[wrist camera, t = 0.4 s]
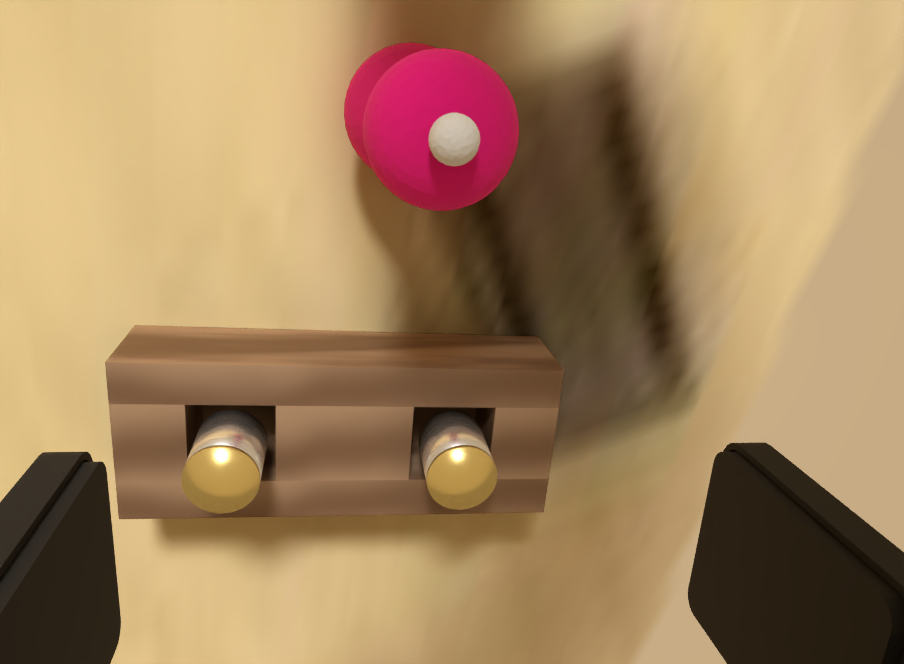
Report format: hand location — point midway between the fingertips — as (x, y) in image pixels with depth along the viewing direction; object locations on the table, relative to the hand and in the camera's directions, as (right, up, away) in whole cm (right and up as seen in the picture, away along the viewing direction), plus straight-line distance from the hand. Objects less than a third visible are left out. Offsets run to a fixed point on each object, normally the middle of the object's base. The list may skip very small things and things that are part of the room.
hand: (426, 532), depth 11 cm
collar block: (-7, -2, +37) cm, 38 cm away
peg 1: (-13, -3, +31) cm, 33 cm away
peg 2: (0, -4, +33) cm, 33 cm away
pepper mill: (-2, +16, +31) cm, 35 cm away
